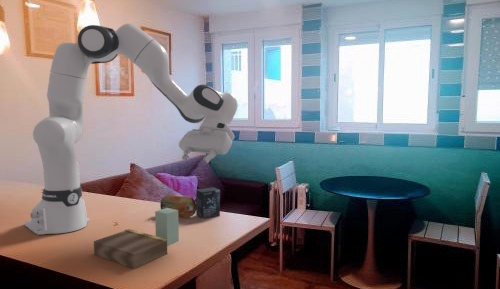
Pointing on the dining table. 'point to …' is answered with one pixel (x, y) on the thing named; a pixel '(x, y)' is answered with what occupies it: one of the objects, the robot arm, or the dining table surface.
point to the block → (167, 225)
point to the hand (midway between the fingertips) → (194, 160)
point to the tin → (179, 205)
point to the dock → (130, 248)
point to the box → (207, 202)
